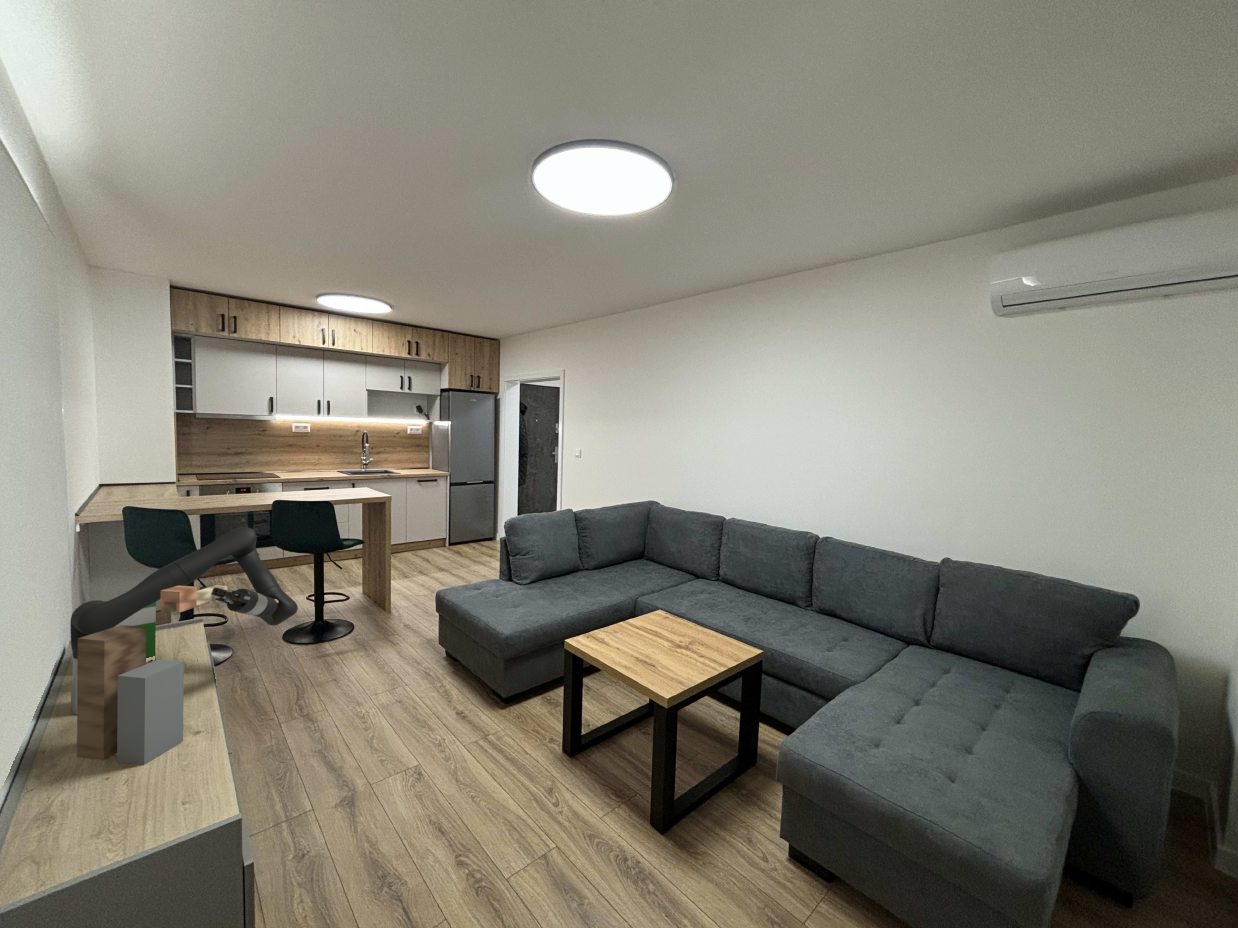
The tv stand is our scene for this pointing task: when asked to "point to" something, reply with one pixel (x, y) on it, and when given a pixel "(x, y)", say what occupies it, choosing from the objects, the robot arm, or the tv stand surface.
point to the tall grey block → (150, 711)
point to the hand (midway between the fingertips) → (207, 590)
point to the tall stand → (104, 685)
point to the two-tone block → (186, 597)
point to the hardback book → (148, 620)
